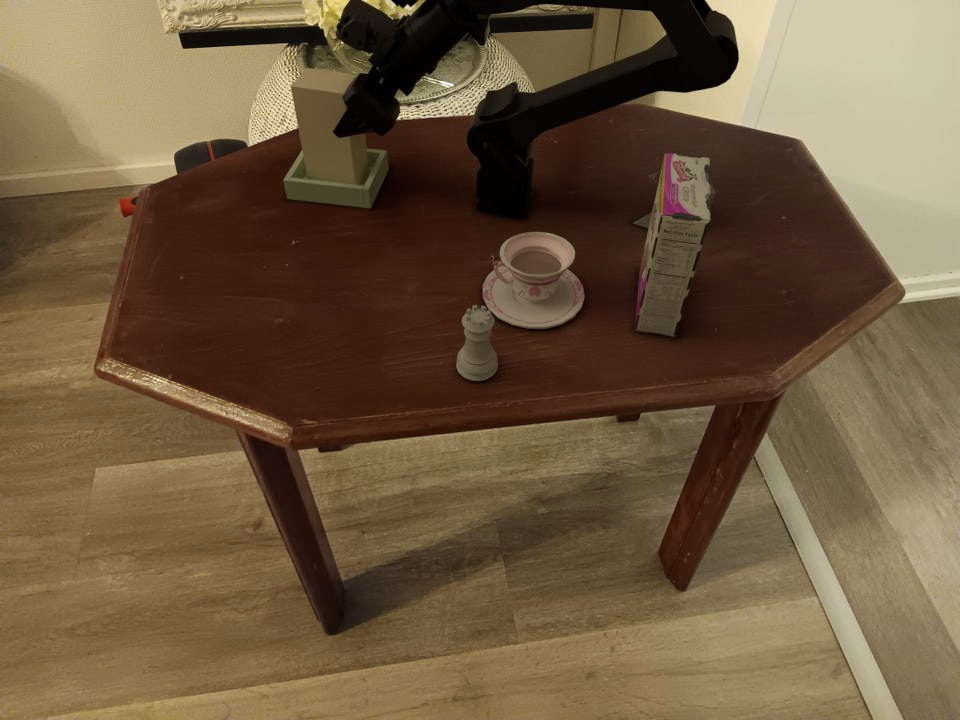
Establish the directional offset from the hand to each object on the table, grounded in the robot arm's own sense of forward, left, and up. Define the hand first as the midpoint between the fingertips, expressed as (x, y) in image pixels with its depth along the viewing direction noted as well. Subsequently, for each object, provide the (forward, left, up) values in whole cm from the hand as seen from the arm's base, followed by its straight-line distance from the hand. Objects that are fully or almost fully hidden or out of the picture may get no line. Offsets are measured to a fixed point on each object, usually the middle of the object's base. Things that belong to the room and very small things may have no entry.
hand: (346, 116), depth 92 cm
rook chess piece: (-26, +27, -10) cm, 39 cm away
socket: (+2, 0, -10) cm, 11 cm away
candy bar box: (-43, +11, -10) cm, 45 cm away
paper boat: (-43, -7, -10) cm, 44 cm away
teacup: (-29, +14, -10) cm, 34 cm away
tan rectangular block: (+3, 0, -10) cm, 10 cm away
